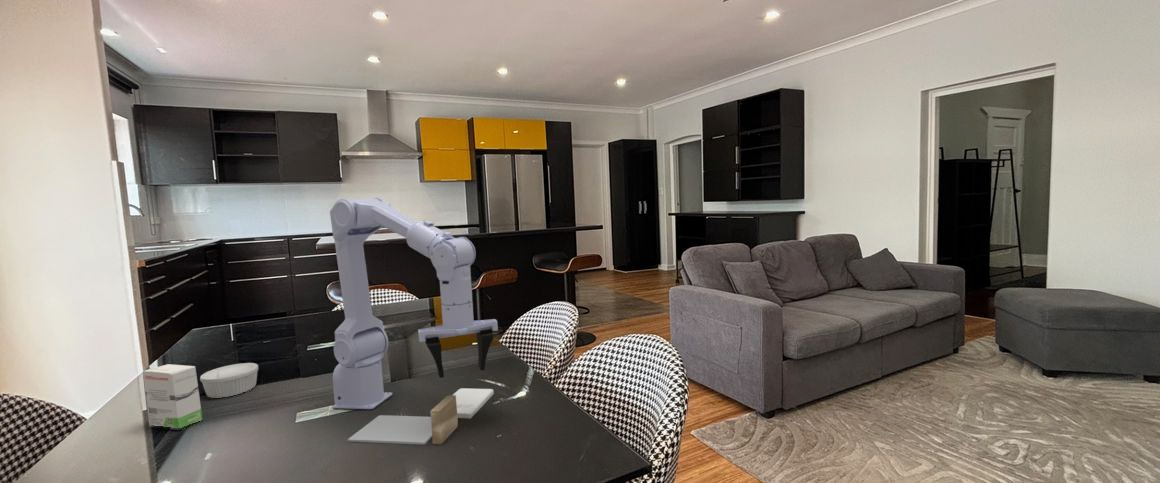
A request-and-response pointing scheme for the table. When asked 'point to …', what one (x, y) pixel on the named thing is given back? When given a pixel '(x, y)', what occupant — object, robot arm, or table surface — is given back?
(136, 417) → the table surface
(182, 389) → the ink box
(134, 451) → the table surface
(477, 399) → the external hard drive
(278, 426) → the table surface
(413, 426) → the mat
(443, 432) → the tile
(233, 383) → the ramekin
